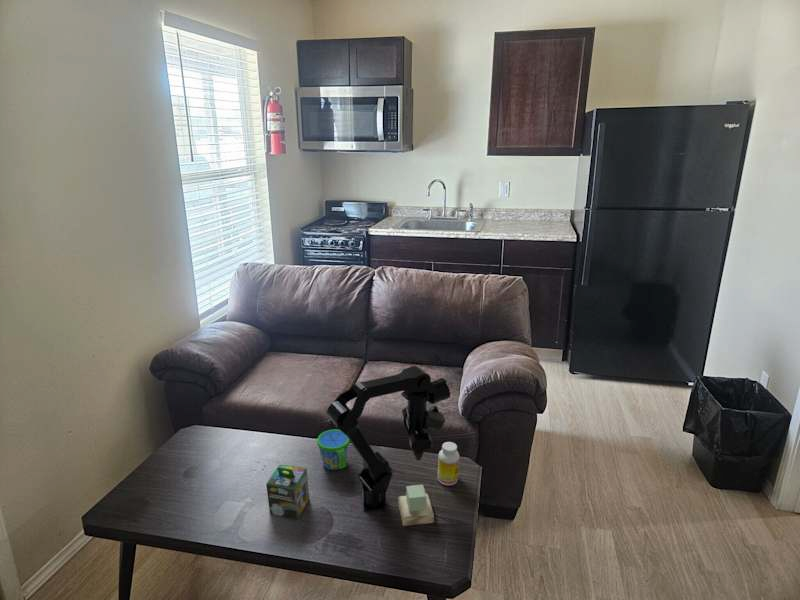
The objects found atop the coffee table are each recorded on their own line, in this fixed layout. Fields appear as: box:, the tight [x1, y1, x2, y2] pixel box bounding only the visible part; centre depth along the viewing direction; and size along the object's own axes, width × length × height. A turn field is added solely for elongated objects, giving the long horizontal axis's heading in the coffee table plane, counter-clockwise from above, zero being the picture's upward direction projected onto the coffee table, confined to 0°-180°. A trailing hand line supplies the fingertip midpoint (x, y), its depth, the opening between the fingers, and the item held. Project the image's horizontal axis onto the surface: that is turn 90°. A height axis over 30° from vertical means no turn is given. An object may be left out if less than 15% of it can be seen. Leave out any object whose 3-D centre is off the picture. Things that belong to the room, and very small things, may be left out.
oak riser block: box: [397, 493, 435, 527], centre depth 152 cm, size 9×9×3 cm
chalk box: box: [265, 464, 310, 520], centre depth 152 cm, size 9×9×15 cm
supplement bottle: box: [437, 441, 460, 486], centre depth 164 cm, size 7×7×13 cm
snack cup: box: [316, 428, 351, 471], centre depth 171 cm, size 16×10×10 cm
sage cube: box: [405, 484, 427, 512], centre depth 151 cm, size 5×5×5 cm
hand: (415, 450), depth 159 cm, fingers open, 9 cm apart
